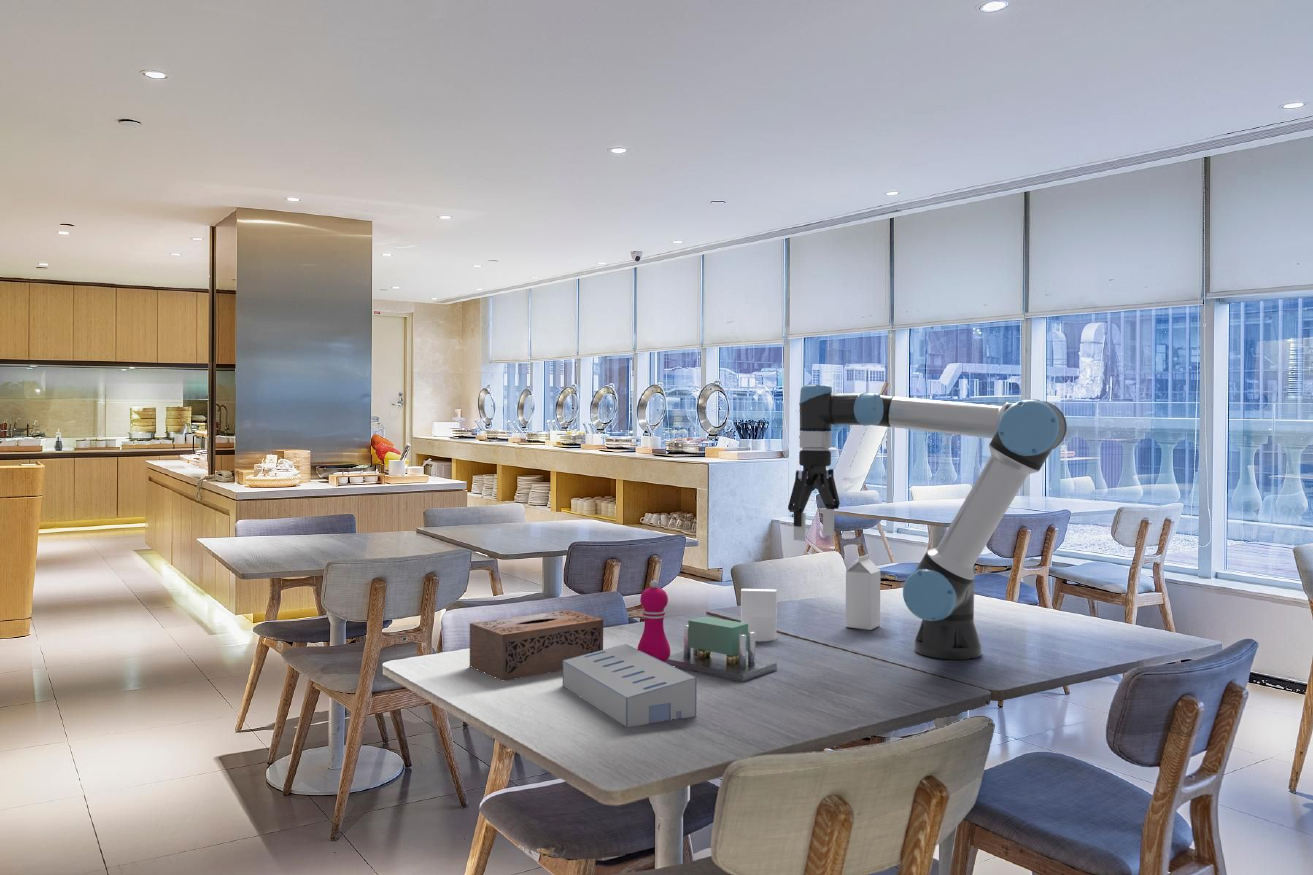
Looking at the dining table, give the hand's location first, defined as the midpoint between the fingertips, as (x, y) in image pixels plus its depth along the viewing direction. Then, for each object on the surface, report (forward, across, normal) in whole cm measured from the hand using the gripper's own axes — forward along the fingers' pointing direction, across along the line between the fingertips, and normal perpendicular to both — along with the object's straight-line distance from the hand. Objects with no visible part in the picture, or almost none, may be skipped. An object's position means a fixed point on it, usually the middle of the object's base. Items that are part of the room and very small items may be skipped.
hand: (814, 538), depth 232 cm
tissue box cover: (+27, +54, -39) cm, 72 cm away
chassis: (+27, +29, -7) cm, 40 cm away
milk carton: (+27, -31, -3) cm, 41 cm away
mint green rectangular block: (+23, +29, -7) cm, 38 cm away
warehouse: (+27, +62, -6) cm, 68 cm away
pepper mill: (+27, +42, -15) cm, 52 cm away
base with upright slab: (+27, -2, -17) cm, 32 cm away
